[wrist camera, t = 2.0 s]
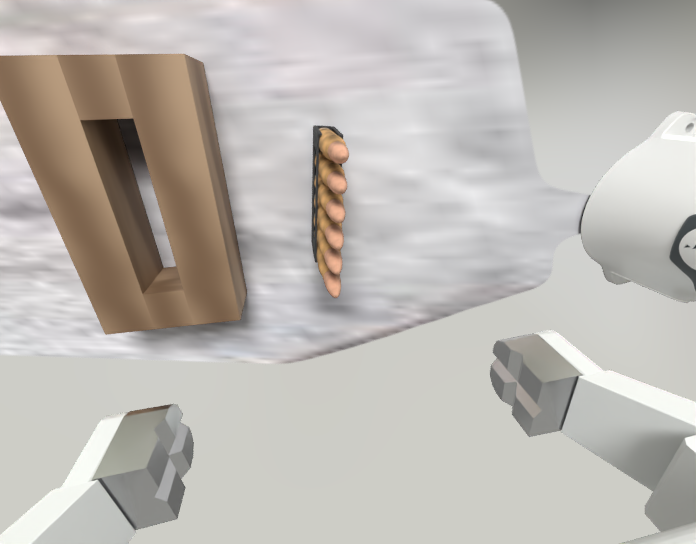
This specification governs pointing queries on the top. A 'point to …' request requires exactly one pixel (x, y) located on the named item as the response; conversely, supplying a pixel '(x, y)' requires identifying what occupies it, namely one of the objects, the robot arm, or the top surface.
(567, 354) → the robot arm
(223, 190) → the slotted wooden block
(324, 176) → the ammunition clip
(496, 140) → the top surface
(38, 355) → the top surface
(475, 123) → the top surface
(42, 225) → the top surface
